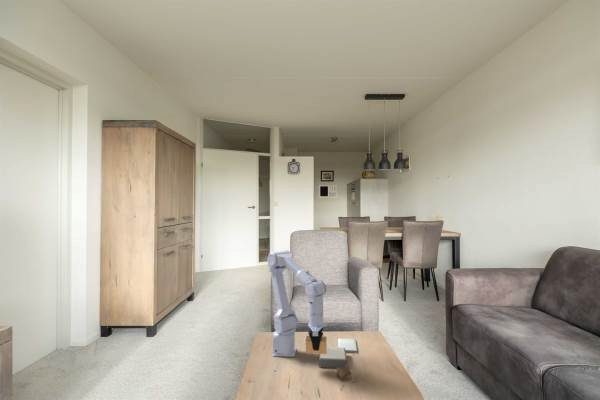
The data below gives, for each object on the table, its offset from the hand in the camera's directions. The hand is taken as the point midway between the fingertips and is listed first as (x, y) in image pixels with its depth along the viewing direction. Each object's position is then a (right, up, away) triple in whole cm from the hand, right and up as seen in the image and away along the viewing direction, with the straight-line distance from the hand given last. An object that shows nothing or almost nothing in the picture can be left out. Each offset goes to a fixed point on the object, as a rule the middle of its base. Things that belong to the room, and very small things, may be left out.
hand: (316, 347), depth 118 cm
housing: (0, -1, 0) cm, 1 cm away
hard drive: (+15, -10, +19) cm, 27 cm away
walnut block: (+10, -8, -6) cm, 14 cm away
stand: (+7, -9, +6) cm, 13 cm away
